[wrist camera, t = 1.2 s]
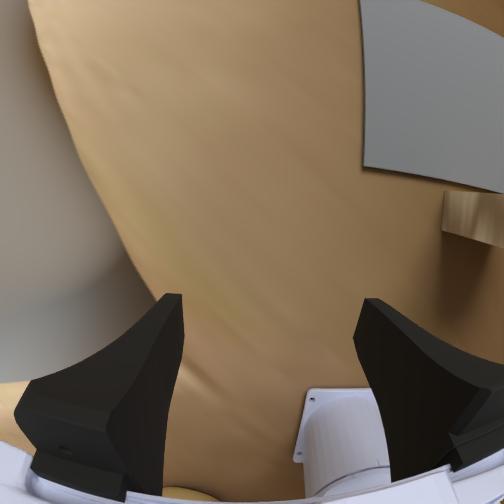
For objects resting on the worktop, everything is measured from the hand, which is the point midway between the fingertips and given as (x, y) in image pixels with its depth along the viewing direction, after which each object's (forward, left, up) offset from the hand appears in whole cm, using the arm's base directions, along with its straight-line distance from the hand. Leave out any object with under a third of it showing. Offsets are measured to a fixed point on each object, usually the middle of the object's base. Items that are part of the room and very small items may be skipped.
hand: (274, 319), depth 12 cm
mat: (+15, -16, -10) cm, 24 cm away
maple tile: (+5, -16, -10) cm, 19 cm away
